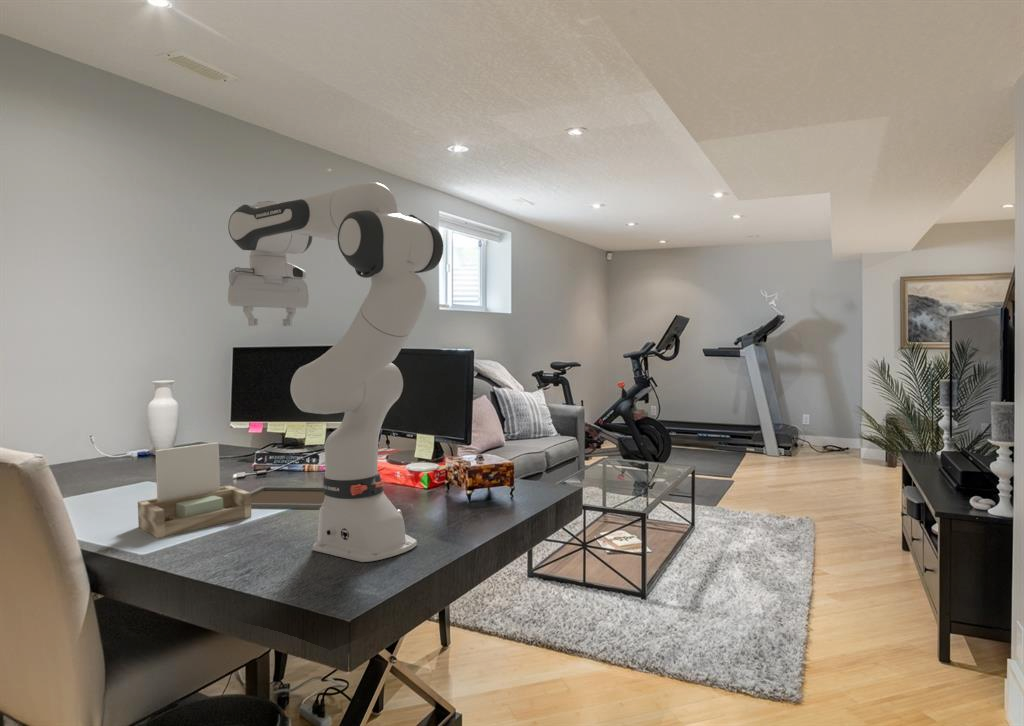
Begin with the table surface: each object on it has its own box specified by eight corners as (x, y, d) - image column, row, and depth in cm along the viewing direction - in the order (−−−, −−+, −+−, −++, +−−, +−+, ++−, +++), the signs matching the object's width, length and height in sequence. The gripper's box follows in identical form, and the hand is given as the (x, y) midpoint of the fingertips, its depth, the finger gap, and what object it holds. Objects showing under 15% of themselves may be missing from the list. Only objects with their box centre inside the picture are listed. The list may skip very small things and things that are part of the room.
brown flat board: (324, 504, 158) (214, 503, 161) (325, 511, 158) (215, 509, 161) (351, 487, 177) (252, 486, 180) (351, 492, 177) (252, 491, 180)
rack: (251, 516, 152) (250, 492, 152) (157, 538, 136) (156, 511, 136) (229, 507, 160) (228, 485, 160) (138, 526, 145) (137, 501, 145)
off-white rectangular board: (221, 513, 155) (218, 442, 155) (160, 526, 145) (157, 451, 144) (218, 512, 157) (216, 442, 156) (158, 525, 146) (155, 450, 145)
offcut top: (223, 510, 149) (223, 498, 149) (185, 519, 142) (185, 506, 142) (214, 507, 152) (213, 495, 152) (176, 515, 145) (176, 503, 145)
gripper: (236, 265, 141) (237, 325, 142) (311, 272, 158) (312, 326, 158) (221, 267, 145) (223, 325, 145) (296, 273, 161) (298, 326, 162)
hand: (270, 326), depth 152 cm, fingers open, 8 cm apart
